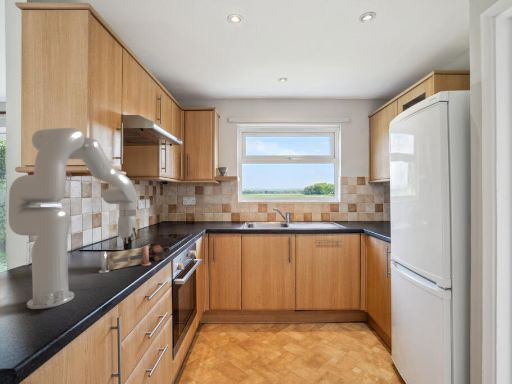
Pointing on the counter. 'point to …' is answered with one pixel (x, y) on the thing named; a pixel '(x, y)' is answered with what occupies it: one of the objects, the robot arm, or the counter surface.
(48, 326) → the counter surface
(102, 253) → the clear glass cylinder
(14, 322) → the counter surface
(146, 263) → the post
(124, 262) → the gate
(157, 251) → the pottery mug
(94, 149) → the robot arm
